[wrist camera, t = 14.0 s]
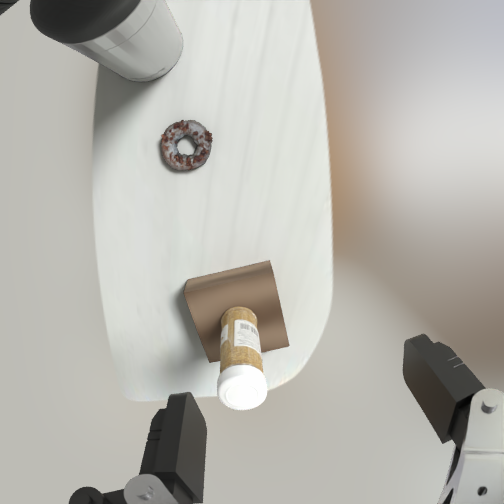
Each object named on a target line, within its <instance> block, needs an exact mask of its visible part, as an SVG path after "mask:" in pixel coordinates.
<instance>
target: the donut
mask: <svg viewBox="0 0 504 504" xmlns="http://www.w3.org/2000/svg"><path fill="white" fill-rule="evenodd" d="M184 135H189V136H190V137H192V138H193V140H194V142H195V144H197V148H196V151H195V152H194V154H193V155H186V154H183V155H181V154H180V153H179V151H178V150H177V143H178V140H179V139H180V138H182V137H184ZM161 136H162V141H161V148H162V156H163V158H164V160H165V161H166V162H167V164H168V165H169V166H171V167H172V168H174V169H177V170H179V171H181V170H191V169H194V168H197V167H199V166H201V165H202V164H204V163H205V162H206V160H207V159H208V157H209V155H210V151H211V143H212V137H211V136H212V133H209V131H207V130H206V128H205V127H204V126H202V125H201V124H200V123H199V122H196V121H194V120H188V121H183V120H181V121H180V122H176V123H174V124H172V125H170V126H169V127H168V128H167V129H166V130H165V132H164V134H162V135H161Z"/></svg>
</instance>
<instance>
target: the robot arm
mask: <svg viewBox="0 0 504 504" xmlns="http://www.w3.org/2000/svg"><path fill="white" fill-rule="evenodd" d="M17 1H19V0H0V15H1V14H2V13H4V12H5V11H6V10H7V9H9V8H10V7H11V6H13V5H14V4H15V3H16V2H17ZM30 15H31V19H32V22H33V24H34V25H35V27H36V28H37V29H38V30H39V31H40V32H41V33H43V34H44V35H46V36H48V37H50V38H52V39H54V40H56V41H58V42H60V43H62V44H64V45H66V46H68V47H70V48H72V49H74V50H76V51H78V52H80V53H81V54H83V55H85V56H87V57H89V58H91V59H93V60H94V61H96V62H98V63H100V64H102V65H103V66H105V67H107V68H109V69H111V70H112V71H114V72H116V73H117V74H119V75H121V76H123V77H124V78H126V79H129V80H131V81H137V82H145V81H150V80H154V79H156V78H159V77H161V76H162V75H164V74H165V73H167V72H168V71H169V70H170V69H171V68H172V67H173V66H174V65H175V64H176V62H177V61H178V59H179V57H180V55H181V53H182V49H183V38H182V34H181V32H180V30H179V28H178V26H177V24H176V21H175V19H174V17H173V15H172V13H171V11H170V9H169V7H168V5H167V3H166V1H165V0H31V2H30ZM403 376H404V380H405V382H406V384H407V386H408V388H409V389H410V391H411V392H412V394H413V396H414V397H415V399H416V400H417V402H418V404H419V405H420V407H421V408H422V410H423V412H424V413H425V415H426V417H427V418H428V420H429V422H430V423H431V425H432V426H433V428H434V430H435V431H436V433H437V435H438V437H439V438H440V440H441V442H442V444H443V443H445V442H447V441H449V440H453V441H454V443H455V447H454V450H453V454H452V458H451V463H450V466H449V470H448V474H447V478H446V481H445V485H444V488H443V491H442V494H441V496H440V498H439V501H438V503H437V504H504V393H503V392H501V391H500V390H497V389H493V388H487V389H486V388H485V387H484V386H483V385H482V383H481V382H480V381H479V380H478V379H477V378H476V376H475V375H474V374H473V373H472V372H471V371H470V370H469V368H468V367H467V366H466V365H465V364H463V361H462V360H461V359H460V358H459V357H457V355H456V354H455V353H454V351H453V350H452V349H451V348H450V347H448V346H446V345H444V344H442V343H440V342H437V343H433V342H432V341H431V340H430V339H429V338H428V337H427V336H426V335H425V334H421V335H418V336H416V337H413V338H410V339H408V340H406V341H405V344H404V359H403ZM206 438H207V428H206V423H205V420H204V417H203V415H202V413H201V411H200V409H199V408H198V405H197V403H196V401H195V399H194V397H193V395H192V394H191V393H190V392H186V393H179V394H171V395H170V396H169V398H168V403H167V408H165V409H159V411H158V412H157V413H156V415H155V416H154V418H153V419H152V422H151V426H150V432H149V434H148V438H147V439H148V441H147V442H146V447H145V451H144V456H143V460H142V465H141V469H140V473H139V475H138V476H136V477H134V478H132V479H131V480H130V481H129V482H128V483H127V484H126V486H125V488H124V489H121V490H117V491H113V492H109V493H104V494H102V493H100V492H99V491H98V490H97V489H95V488H93V487H82V488H80V489H78V490H76V491H75V492H74V493H73V495H72V496H71V498H70V501H69V504H193V503H203V489H204V471H205V454H206Z"/></svg>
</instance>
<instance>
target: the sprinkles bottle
mask: <svg viewBox="0 0 504 504" xmlns="http://www.w3.org/2000/svg"><path fill="white" fill-rule="evenodd" d="M221 326H222V332H221V348H220V360H221V362H220V375H219V377H218V382H217V395H218V398H219V400H220V401H221V402H222V403H223V404H224V405H226V406H227V407H229V408H232V409H236V410H248V409H252V408H255V407H257V406H258V405H260V404H261V403H262V402H263V401H264V400H265V398H266V395H267V385H266V379H265V376H264V374H263V368H262V355H261V347H260V340H259V333H258V330H257V317H256V315H255V314H254V313H253V311H251V310H250V309H248V308H245V307H240V306H239V307H233V308H230V309H229V310H227V311H226V312H225V314H224V315H223V316H222V319H221Z"/></svg>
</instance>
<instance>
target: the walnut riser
mask: <svg viewBox="0 0 504 504" xmlns="http://www.w3.org/2000/svg"><path fill="white" fill-rule="evenodd" d="M184 296H185V298H186V301H187V304H188V307H189V310H190V312H191V315H192V318H193V321H194V323H195V326H196V329H197V331H198V334H199V337H200V339H201V342H202V345H203V347H204V350H205V352H206V355H207V357H208V360H209V363H211V362H217V361H221V360H220V348H221V332H222V326H221V319H222V316H223V315H224V314H225V312H226V311H227V310H229V309H230V308H233V307H239V306H240V307H245V308H248V309H250V310H251V311H253V313H254V314H255V315H256V317H257V330H258V333H259V340H260V347H261V353H262V352H266V351H271V350H275V349H279V348H284V347H288V346H289V342H288V337H287V332H286V328H285V323H284V319H283V314H282V309H281V305H280V300H279V296H278V291H277V287H276V282H275V278H274V273H273V270H272V266H271V263H270V260H269V261H265V262H261V263H257V264H252V265H248V266H244V267H239V268H235V269H231V270H227V271H222V272H218V273H214V274H209V275H205V276H201V277H196V278H192V279H188V281H187V284H186V287H185V290H184Z"/></svg>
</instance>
